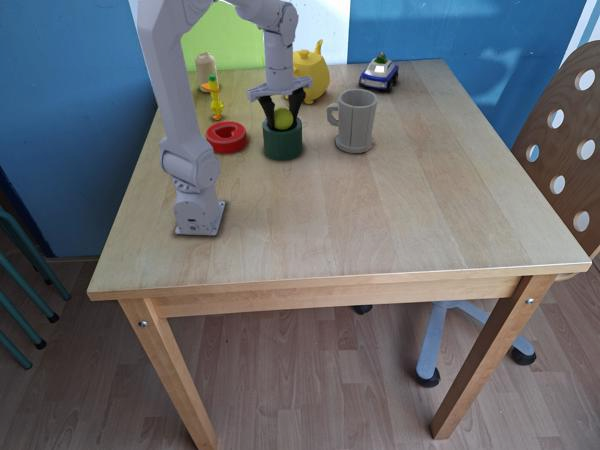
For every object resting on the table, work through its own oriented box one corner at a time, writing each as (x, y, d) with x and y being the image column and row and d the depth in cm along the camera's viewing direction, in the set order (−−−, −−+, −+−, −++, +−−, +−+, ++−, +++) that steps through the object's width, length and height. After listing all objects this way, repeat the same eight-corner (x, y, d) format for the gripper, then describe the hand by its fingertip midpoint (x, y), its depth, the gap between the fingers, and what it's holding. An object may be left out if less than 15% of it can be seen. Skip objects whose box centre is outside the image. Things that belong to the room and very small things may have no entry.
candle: (196, 91, 123) (190, 57, 116) (205, 82, 127) (199, 49, 120) (214, 93, 122) (208, 59, 115) (222, 85, 125) (217, 51, 119)
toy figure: (202, 117, 112) (194, 73, 104) (211, 111, 114) (204, 68, 106) (222, 124, 110) (215, 79, 101) (231, 118, 112) (224, 74, 103)
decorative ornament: (207, 134, 106) (204, 123, 104) (245, 129, 107) (243, 118, 105) (208, 155, 99) (206, 144, 97) (249, 150, 101) (247, 139, 98)
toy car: (355, 90, 122) (358, 57, 115) (370, 73, 130) (373, 42, 123) (386, 96, 119) (391, 63, 112) (399, 79, 127) (404, 47, 120)
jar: (301, 161, 97) (300, 134, 93) (262, 160, 98) (259, 133, 93) (303, 139, 104) (303, 114, 99) (266, 138, 104) (264, 113, 99)
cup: (336, 158, 98) (338, 111, 90) (324, 137, 104) (325, 92, 96) (378, 150, 100) (384, 104, 92) (363, 131, 106) (368, 85, 98)
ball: (297, 131, 96) (296, 111, 92) (276, 136, 94) (275, 116, 91) (287, 120, 99) (287, 101, 96) (268, 126, 98) (266, 106, 94)
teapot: (341, 83, 125) (343, 41, 116) (311, 114, 112) (311, 69, 104) (300, 75, 130) (300, 33, 121) (267, 104, 117) (264, 59, 108)
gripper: (253, 79, 82) (258, 139, 91) (319, 64, 86) (318, 123, 95) (240, 65, 86) (247, 124, 96) (304, 52, 91) (304, 109, 100)
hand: (282, 123), depth 96 cm, fingers closed on ball, 5 cm apart
